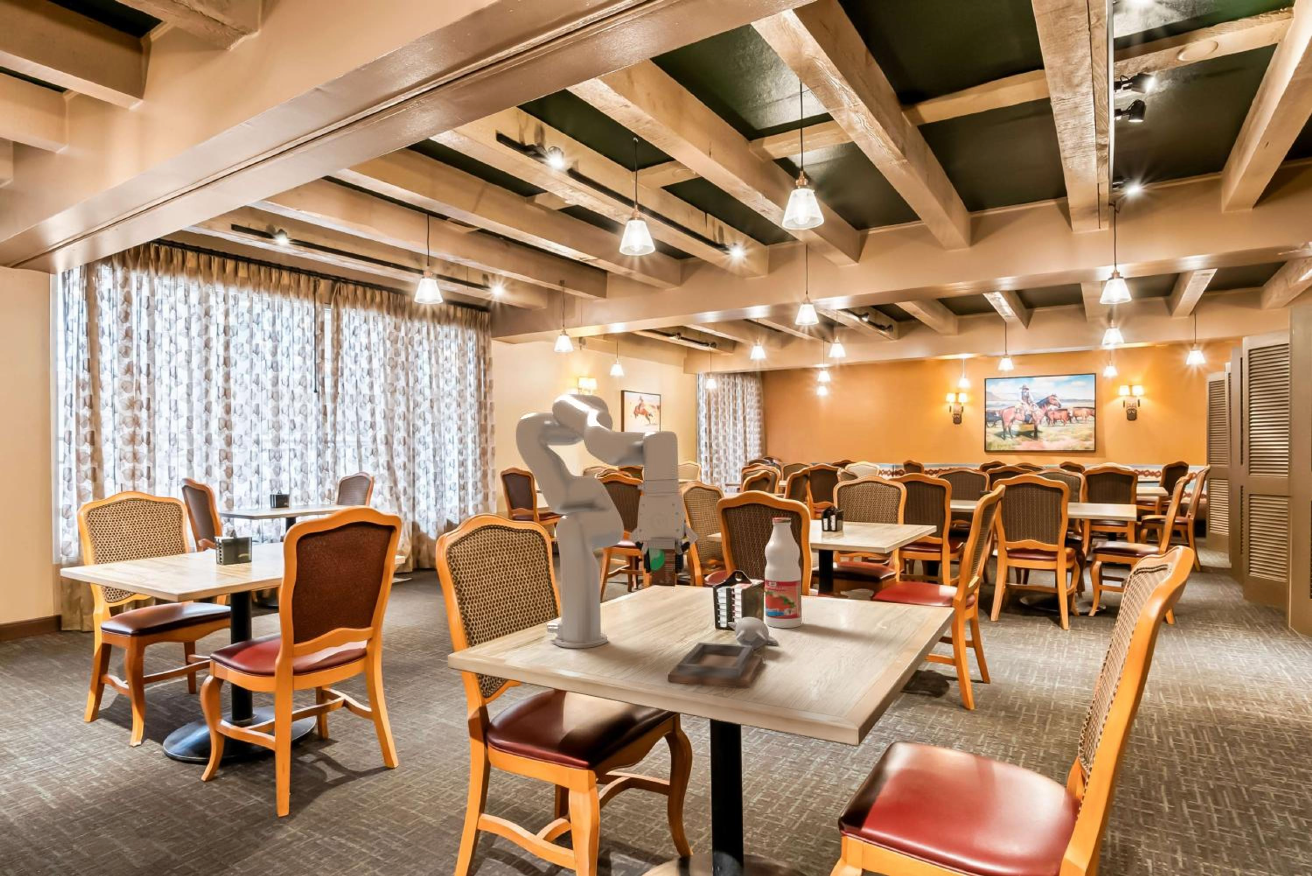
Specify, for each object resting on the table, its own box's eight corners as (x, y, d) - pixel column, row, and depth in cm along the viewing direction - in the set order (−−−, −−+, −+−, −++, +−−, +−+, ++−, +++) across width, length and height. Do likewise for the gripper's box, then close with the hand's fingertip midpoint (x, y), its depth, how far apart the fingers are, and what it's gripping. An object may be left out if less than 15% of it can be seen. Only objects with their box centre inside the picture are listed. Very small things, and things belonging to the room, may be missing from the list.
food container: (646, 578, 163) (645, 533, 163) (674, 578, 163) (673, 533, 163) (645, 588, 151) (644, 539, 151) (675, 587, 151) (674, 539, 151)
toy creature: (784, 625, 178) (783, 631, 158) (774, 654, 177) (772, 664, 158) (735, 606, 181) (728, 609, 161) (725, 634, 180) (717, 642, 160)
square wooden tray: (667, 682, 144) (667, 664, 144) (690, 657, 161) (690, 641, 161) (748, 688, 139) (748, 669, 139) (762, 662, 156) (762, 646, 157)
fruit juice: (809, 624, 191) (807, 518, 192) (785, 630, 185) (783, 520, 186) (781, 619, 198) (779, 516, 199) (758, 624, 192) (756, 518, 193)
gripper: (617, 489, 156) (620, 574, 155) (695, 488, 151) (698, 576, 150) (629, 488, 163) (631, 569, 162) (704, 487, 158) (707, 570, 157)
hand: (663, 571), depth 156 cm, fingers closed on food container, 5 cm apart
